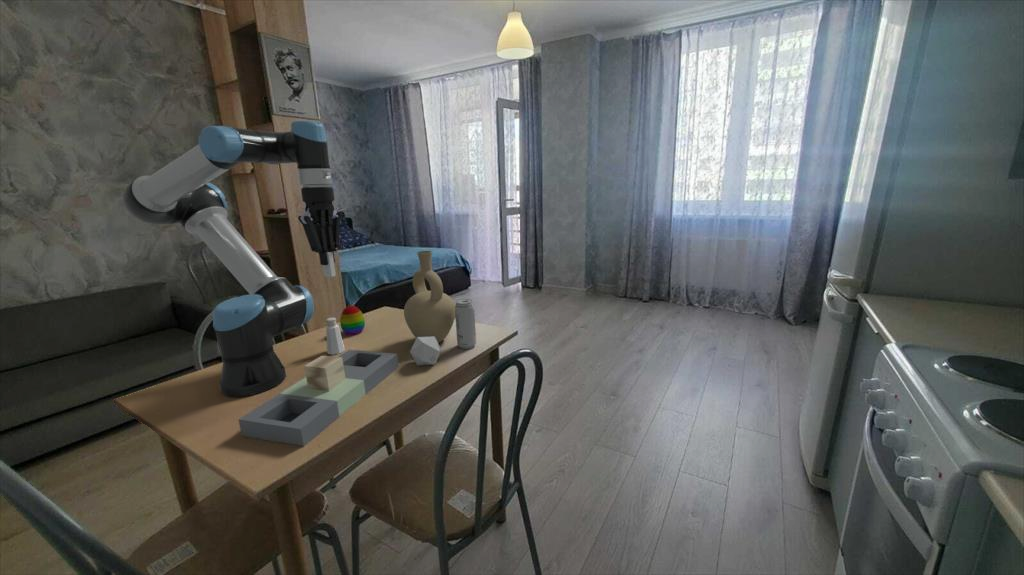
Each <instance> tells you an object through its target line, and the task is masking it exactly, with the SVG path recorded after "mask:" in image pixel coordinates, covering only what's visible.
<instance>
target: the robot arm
mask: <svg viewBox="0 0 1024 575" xmlns="http://www.w3.org/2000/svg"><path fill="white" fill-rule="evenodd" d="M290 127H291V128H290V131H282V132H281V131H280V132H279V131H278V132H275V131H267V130H259V129H258V130H257V129H246V128H241V127H240V128H239V127H231V126H227V125H208V126H205V127H204V128H202V129H201V130H200V134H199V136H198V144H197V145H195V146H194V147H192V148H191V149H189V150H188V151H186V152H185V153H183V154H181V155H180V156H179V157H177V158H175V159H173V160H172V161H171V162H169V163H168V164H166V165H165V166H163V167H162V168H160V169H159V170H157V171H156V172H154V173H153V174H151V175H142V176H139V177H137V178H135V179H134V180H133V181H131V182H130V183H129V184H128V185H127V186H126V187H125V189H124V191H123V194H122V202H123V205H124V206H125V208H126V210H127V211H128V212H129V214H131V215H132V216H133V217H134V218H136V219H138V220H140V221H142V222H143V223H147V224H151V225H158V226H159V225H160V226H161V225H172V224H173V225H175V224H179V225H180V226H182V227H183V229H184V230H185V231H186V232H187V233H188V234H191V235H198V237H199V238H200V240H202V241H203V243H204V244H205V245H206V246H207V247H208V248H209V250H210V251H211V252H212V253H213V254H214V255H215V256H216V257H217V258H218V259H219V261H220V262H221V263H222V264H223V266H225V267H226V269H227V270H228V271H229V272H230V273H231V274H232V276H233V277H234V278H235V279H236V280H237V281H238V283H239V284H240V285H241V286H242V287H243V289H244V290H245V291H247V293H248V294H244V295H241V296H234V297H232V298H229V299H227V300H224V301H222V302H220V303H219V304H217V305H216V306H215V307H214V308H213V309H212V313H211V316H212V327H213V329H214V331H215V337H216V339H217V344H218V347H219V352H220V356H221V360H222V367H221V376H220V380H219V388H220V392H221V394H222V395H224V396H226V397H233V398H234V397H235V398H236V397H237V398H238V397H248V396H251V395H252V396H253V395H257V394H259V393H262V392H266V391H268V390H271V389H272V388H275V387H277V386H278V385H280V384H281V383H282V382H284V380H285V379H286V377H287V373H286V368H285V366H284V364H283V363H282V361H281V360H280V358H279V357H278V356H277V354H276V352H275V349H274V345H273V339H272V338H274V337H277V336H279V335H282V334H284V333H286V332H289V331H290V330H294V329H295V328H296V329H297V328H299V327H301V326H302V325H304V324H306V323H307V322H309V321H310V320H311V319H312V317H313V316H314V313H315V306H314V305H315V303H314V298H313V296H312V294H311V292H310V291H309V290H308V289H307V288H306V287H305V286H302V285H298V284H295V285H293V284H292V283H291V282H290V281H289V280H288V279H287V278H286V277H282V276H281V277H280V276H277V275H276V274H275V272H274V271H273V270H272V269H271V268H270V267H269V266H268V265H267V263H266V262H265V260H263V258H261V257H260V255H259V254H258V253H257V252H256V251H255V250H254V248H253V247H252V246H251V245H250V243H249V242H247V240H246V239H245V238H244V237H243V236H242V235H241V233H240V232H239V231H238V230H237V229H236V228H235V227H234V226H233V225H232V223H231V222H230V221H229V220H228V202H226V197H225V194H224V193H223V192H222V190H221V189H220V188H219V187H218V186H217V185H214V184H213V183H212V182H211V181H212V180H214V179H216V178H217V177H219V176H221V175H223V174H224V173H226V172H228V171H229V170H232V169H234V168H235V167H237V166H238V165H240V164H243V163H247V164H249V163H255V164H256V163H258V164H267V165H281V164H293V163H295V164H296V165H297V166H296V168H297V172H298V180H299V185H300V186H302V187H301V189H300V191H301V199H302V201H303V203H305V204H304V205H305V208H304V211H305V212H304V214H302V215H299V216H298V218H297V219H298V221H299V222H300V223H301V225H302V227H303V230H304V232H305V236H306V238H307V241H308V245H309V248H310V249H311V252H312V253H313V252H314V253H317V254H318V256H319V262H320V265H321V266H322V272H323V277H327V278H328V277H329V278H331V277H332V278H333V277H335V276H336V275H337V274H336V267H335V262H336V259H335V252H337V251H338V248H339V247H340V235H341V233H340V232H341V219H342V216H343V213H342V212H341V211H337V210H336V209H335V206H334V204H333V202H334V201H335V192H334V188H333V187H332V184H333V180H332V173H331V165H330V159H329V158H330V157H329V149H328V139H327V135H326V130H325V126H324V124H322V122H319V121H313V120H295V121H292V122H291V125H290Z"/></svg>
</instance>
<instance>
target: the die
mask: <svg viewBox="0 0 1024 575" xmlns="http://www.w3.org/2000/svg"><path fill="white" fill-rule="evenodd" d="M441 352H442V348H441V346H440V344H439V343H438V342H437V340H436V338H435V336H433V337H417V338H416V337H415V341H414V343H413V345H412V347H411V349H410V350H409V353H410V354H411V357H412V358H413V361H414V362H415V363H416V366H436V363H437V361H438V360H439V357H440V355H441Z"/></svg>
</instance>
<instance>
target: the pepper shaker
mask: <svg viewBox="0 0 1024 575" xmlns="http://www.w3.org/2000/svg"><path fill="white" fill-rule="evenodd" d="M325 321H326V323H327V324H326V325H327V326H326V349H327V352H326V353H327V354H328V355H332V356H334V355H339V354H340V355H341V354H343V353H344V352H346V351H345V349H346V348H345V345H344V342H343V338H342V333H341V330H340V327H339V324H337V318H336V317H328V318H326V320H325Z"/></svg>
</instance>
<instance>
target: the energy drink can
mask: <svg viewBox="0 0 1024 575" xmlns="http://www.w3.org/2000/svg"><path fill="white" fill-rule="evenodd" d="M475 314H476V313H475V305H474V304H473V301H472V299H469V298H462V299H459V300H456V302H455V328H456V343H457V346H458V347H459V348H460V349H462V350H470V349H473V348H475V346H476V344H477V336H476V335H477V333H476V315H475Z"/></svg>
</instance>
